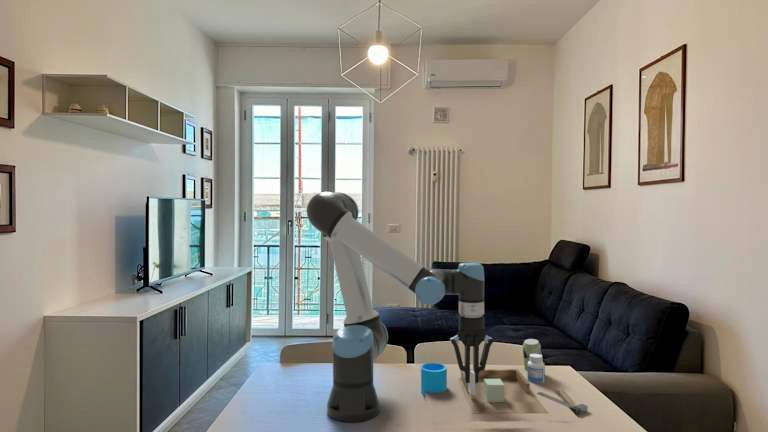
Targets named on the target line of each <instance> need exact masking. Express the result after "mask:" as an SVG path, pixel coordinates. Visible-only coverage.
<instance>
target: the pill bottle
mask: <svg viewBox="0 0 768 432" xmlns="http://www.w3.org/2000/svg"><path fill="white" fill-rule="evenodd" d="M545 366H546V365H545V362H543V355H542V354H541V355H540V354H530V361H528V371H527V381H528V382H529V383H534V384H544V383H545V382H546V380H545V379H546V377H545V373H546V368H545Z"/></svg>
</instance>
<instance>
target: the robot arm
mask: <svg viewBox="0 0 768 432" xmlns="http://www.w3.org/2000/svg"><path fill="white" fill-rule="evenodd" d="M306 216H307V220H308V221H309V223H310V225H311V226H312V227H314V228H315V229H316V230H317V231H319V232H321V233H322V237H323V239H324V240H326V241H327V242H328V243H329V246H330V250H331V254H332V258H333V264H334V268H335V271H336V276H337V280H338V284H339V285H338V286H339V288H340V293H341V296H342V297H341V298H342V301H343V305H344V306H343V307H344V309H345V314H346V316H345V318H344V320H343V321H342V322H343V327H341V328H338V329H337V330H336V331H334V334H333V337H332V344H331V347H332V386H331V391H330V395H329V397H328V400H327V404H326V405H327V406H326V407H327V409H326V413H327V415H328V416H329V417H330V418H332V419H333V420H336V421H339V422H345V423H356V422H357V423H358V422H359V423H360V422H365V421H368V420H372V419H373V418H375V417H376V416H377V415H378V414H379V413H380V399H379V397H378V394H377V390H376V387H375V384H374V362H375V361H376V359H377V358H378V357H379V356H380V355H382V354H383V352H384V351H385V348H386V347H387V344H388V341H389V333H388V330H387V329H388V328H387V327H386V326H385V324H384V323H383V322H382V321H381V317H380V314H379V312H378V311H376V310H375V309H374V308H373V304H372V299H371V295H370V291H369V288H368V287H369V286H368V283H367V278H366V275H365V269H364V266H363V261H362V258H364V259H365V260H366V261H368V262H370V263H371V264H373V266H375V267H377V268H378V269H380V270H381V271H382V272H384V273H385V274H387V275H388V276H390V277H391V278H392V279H394V280H395V281H397V282H398V283H400V285H402V286H403V287H405V288H407V289H408V290H410V291H411V292H412V293H414V294H415V296H416V298H417V300H418V301H419V302H420V303H422V304H423V305H428V306H432V305H435V304H437V303H439V302H440V301H441V300H442V299H444V297H445V295H451V296H452V295H453V296H454V295H456V296H457V295H458V314H459V315H458V330H457V333H456V335H454V336H451V337H450V338H449V341H450V342H451V344H452V346H453V349H454V353H455V357H456V361H457V362H456V363H457V365H458V368H459V371H460V372H461V371H464V372H465V381H466V383H468V392H469V394H470V395H475V383H478V373H479V372H480V371H484V370H485V369H486V366H487V361H488V357H489V354H490V348H491V346H492V345H493V343H494V338H492V337H491V336H489V335H487V333H486V331H485V330H486V329H485V316H484V315H485V269H484V266H483V264H482V263H478V262H461V263H459V264H458V268H456V269H442V268H432V267H431V268H430V267H429V268H426V267H425V266H424V265H422V264H421V263H419V262H418V261H417V260H415V259H413V258H412V257H410V256H409V255H408V254H406V253H404V252H403V251H402V250H400V249H399V248H397V247H396V246H394V245H393V244H391V242H389V241H388V240H386V239H384V238H383V237H381V236H380V235H378V234H377V233H376V232H374V231H373V230H371V229H370V228H368V227H367V226H365V225H364V224H362V223H361V222H360V221H358V218H359V207H358V204H357V202H356V201H355V199H354V198H352V197H351V196H350V195H348V194H346V193H344V192H331V191H323V192H318V193H317V194H315V195H314V196H312V197H311V198H310V199H309V201H308V202H307V206H306ZM361 257H362V258H361ZM459 340H460V341H459ZM459 342H461V343H462V345H464V346H463V347H464V362H463V359H462V354H461V351H460V347H459V345H458V344H459ZM483 342H484V344H483V349H482V352H481V356H479V355H480V352H479V351H480V345H482V343H483ZM471 347H472V365H473V366H472V367H473V368H472V369H474V371H473V370H470V369H471ZM479 358H480V359H479ZM479 360H480V361H479Z"/></svg>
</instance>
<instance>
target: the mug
mask: <svg viewBox="0 0 768 432" xmlns="http://www.w3.org/2000/svg"><path fill="white" fill-rule="evenodd" d="M447 370H448V369H447V366H446V365H445V364H444V363H443V364H442V363H439V362H428V363H424V364H421V366H420V393H421V395H422V396H423V397H426V393H431V394H439V393H444V392H445V391H447V389H448V380H447V379H448V377H447V375H448V372H447Z"/></svg>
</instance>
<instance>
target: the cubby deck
mask: <svg viewBox="0 0 768 432" xmlns="http://www.w3.org/2000/svg"><path fill="white" fill-rule="evenodd" d="M470 370H473V371H474V369H473V368H472V369H471V368H470ZM457 379H458V382H459V385H460V386H461V390H462V391H463V395H464V397H465V398H466V401H467V403H468V405H469V408H470V411H471V412H472V414H549V412H548V411H547V409H546V408H545V406H544V405H543V404H542V403H541V401H539V398H537V397H536V396H535V394H534V393H533V391H532V390H531V389H530V388H531V387H530V386H531V384H530V381H528V379H526V377H525V376H524V375H523V373H521V371H520V370H519V369H518V368H517V369H516V368H509V369H508V368H503V369H502V368H501V369H499V368H498V369H497V368H495V369H493V368H491V369H487V368H485V370H484V371H480V372H479V373H478V383H475V395H470V394H469V392H468V383H466V381H465V372H464V371H461V370H460V378H457ZM484 379H501V381H502V382H503V384H504V402H487V400H486V398H485V397H484ZM492 403H493V404H502V403H503V404H507V405H508V407H509V409H510V411H509V412H508V411H507V412H502V411H501V412H500V411H499V412H492V411H489V408H488V406H487V404H492Z"/></svg>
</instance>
